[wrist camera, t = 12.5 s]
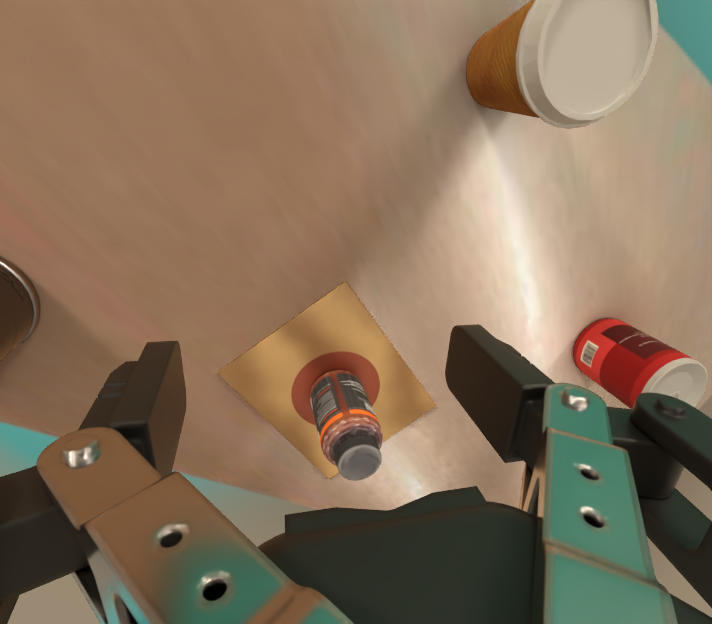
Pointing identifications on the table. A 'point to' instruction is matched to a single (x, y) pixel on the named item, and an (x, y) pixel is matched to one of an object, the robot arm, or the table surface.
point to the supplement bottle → (346, 424)
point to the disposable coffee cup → (564, 59)
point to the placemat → (321, 355)
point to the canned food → (637, 364)
